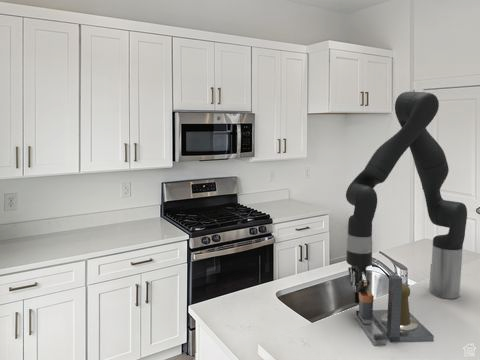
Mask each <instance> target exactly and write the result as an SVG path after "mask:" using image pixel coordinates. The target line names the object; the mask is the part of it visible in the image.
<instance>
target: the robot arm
mask: <svg viewBox="0 0 480 360" xmlns="http://www.w3.org/2000/svg"><path fill="white" fill-rule="evenodd" d="M439 105H440V101H439V99H438V97H437V96H436V94H434V93H431V92H425V91H404V92H402V93H400V94H399V95H397V97H396V100H395V103H394V113H395V116H396V119H397V121H398V123H399V125H400V129H399V130H398V131H397V132H396V133H395V134H394V135H393V136H391V137H390V138H388V139H387V140H386V141H385V142H383V144H382V145H380V146H379V147H378V148H377V149H376V150H375V151H374V153H373V154H372V155H371V157H370V159H369V160H368V162H367V164H366V165H365V167H364V169H363V170H361V172H360V173H358V175H357V176H355V178H354V179H353V180H352V181H351V183H350V184H349V185H348V187H347V189H346V191H345V199H346V201H347V202H348V203H349V204H350V205H351V206H354V209H353V213H352V215H350V216H349V217H348V221H347V222H348V224H347V238H346V257H345V258H346V264H347V265H349V266H350V267H348V269H347V270H348V276H349V280H350V285H351V287H352V290H353V302H354V303H355V304H359V292H363V291H368V288H369V286H370V284H371V283H370V280H369V279H367V277H368V271H367V268H368V267H370V266H371V265H372V264H373V262H372V261H373V221H374V218H375V214H376V210H377V208H378V207H377V206H378V195H377V191H376V190H375V187H376V186H377V185H378V184H383V183H384V182H386V180H387V179H388V177H389V175H390V174H391V172H392V171H393V169H394V167H395V166H396V164H397V163H398V162H399V160H400V159H401V157H402V156H403V155H404V154H405V152H406V151H407V150H408V149H410V153H411V155H412V158H413V162H414V166H415V169H416V172H417V175H418V177H419V180H420V183H421V184H420V185H421V186H422V190H423V194H424V200H425V204H426V209H427V214H428V218H429V220H430V222H431V223H432V224H433V225H436V226H439V227H444V228H448V232H447V233H446V234H439V235H435V236H434V237H433V238H432V252H431V263H430V269H429V270H430V271H429V276H430V277H429V287H428V288H429V292H430V293H431V294H432V296H433V295H434V296H436V297H438V298H441V299H447V300H449V299H450V300H453V299H459V298H460V293H461V292H460V291H461V281H462V279H461V277H462V267H463V266H462V265H463V264H462V263H463V248H464V243H465V242H464V241H465V238H466V237H465V236H466V230H467V220H468V209H467V206H466V204H465V203H463V202H459V201H452V200H447V199H443V197H442V194H441V189H442V186H443V184H444V183H445V181H446V179H447V177H448V175H449V172H450V169H449V164H448V161H447V157H446V154H445V152H444V149H443V148H442V146H440V144H439V143H438V141H437V140H436V139H435V138H434V137H433V136H432V135H431V133H429V131H428V129H427V127H428V126H429V125H430V123H431V122H432V121H433V120H434V118H435V117H436V116H437V114H438V111H439Z"/></svg>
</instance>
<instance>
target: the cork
mask: <svg viewBox="0 0 480 360" xmlns="http://www.w3.org/2000/svg"><path fill="white" fill-rule="evenodd" d="M410 296H411V288H410V286H409V285H407V284H404V283H402V297H401V319H400V326H407V325H409V324H410V313H411V312H410V304H409V303H410V302H409V297H410Z"/></svg>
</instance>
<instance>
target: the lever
mask: <svg viewBox="0 0 480 360" xmlns="http://www.w3.org/2000/svg"><path fill="white" fill-rule="evenodd" d="M374 299H375V297H374V295H373V293H372V292H371V291H370V290H369V291H368V290H366V291H363V292H359V303H358V310H359V312H358V316H359V317H360V319H361V320H362V322H363V323H364V324H374V321H373V319H372V316H373V310H374V302H375V301H374Z"/></svg>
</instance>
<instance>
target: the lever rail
mask: <svg viewBox="0 0 480 360" xmlns="http://www.w3.org/2000/svg"><path fill="white" fill-rule="evenodd" d="M358 312H359V309H358V310H355V320H356V321H357V323H358V325H359V326H360V327H361V328H362V330H363V331H364V333H365V334H366V335H367V338H369V340H370V341H371V343H372V345H374V346H386V343H387V337H386V335H385V334H384V333H381V332H380V331H379V330H378V328H377V327H376V326H375V324H374V323H373V324H364V323H363V322H362V320H361V319H360V317H359V316H358Z"/></svg>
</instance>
